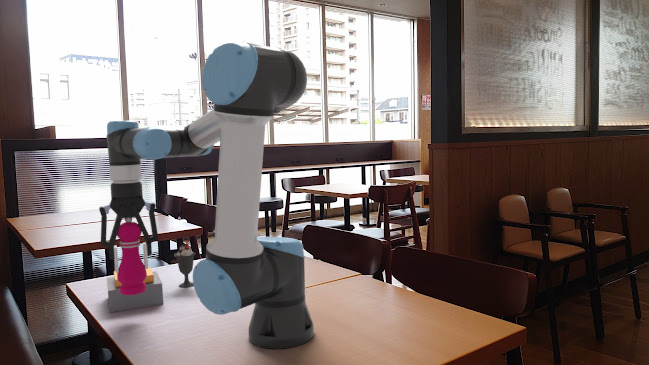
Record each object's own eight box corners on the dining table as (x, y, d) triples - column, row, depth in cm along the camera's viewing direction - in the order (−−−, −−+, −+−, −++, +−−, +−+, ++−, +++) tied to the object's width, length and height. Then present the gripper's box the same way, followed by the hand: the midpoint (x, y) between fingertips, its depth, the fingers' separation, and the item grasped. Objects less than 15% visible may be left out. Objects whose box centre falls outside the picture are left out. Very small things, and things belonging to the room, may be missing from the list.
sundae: (194, 288, 156) (192, 240, 155) (173, 288, 156) (170, 241, 155) (200, 281, 163) (197, 236, 161) (179, 282, 163) (177, 236, 162)
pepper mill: (137, 296, 128) (132, 218, 126) (112, 295, 129) (107, 218, 127) (153, 287, 135) (148, 213, 133) (128, 286, 136) (123, 213, 134)
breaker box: (163, 303, 142) (162, 283, 142) (109, 312, 137) (108, 290, 136) (157, 290, 155) (156, 271, 154) (108, 297, 149) (106, 277, 149)
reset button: (154, 298, 143) (153, 274, 143) (116, 304, 139) (115, 279, 138) (151, 289, 152) (149, 266, 152) (115, 294, 148) (113, 271, 148)
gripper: (163, 178, 137) (168, 261, 139) (84, 182, 129) (90, 271, 131) (167, 180, 130) (172, 268, 132) (83, 185, 122) (90, 278, 124)
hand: (131, 269), depth 132 cm, fingers closed on pepper mill, 6 cm apart
